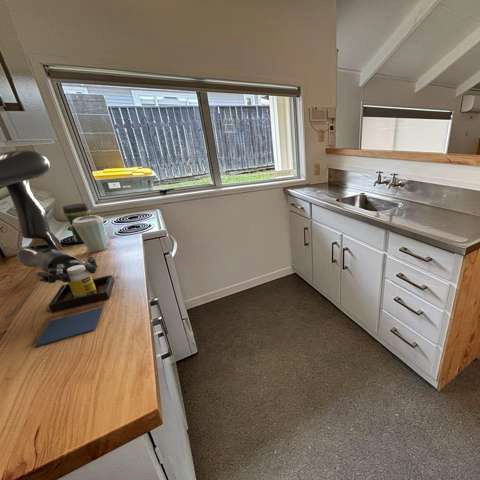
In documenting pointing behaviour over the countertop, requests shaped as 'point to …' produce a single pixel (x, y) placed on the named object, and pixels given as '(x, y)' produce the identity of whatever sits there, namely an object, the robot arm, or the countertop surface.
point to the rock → (39, 242)
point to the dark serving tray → (60, 305)
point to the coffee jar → (76, 216)
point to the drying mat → (69, 326)
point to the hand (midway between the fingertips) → (81, 274)
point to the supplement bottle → (81, 281)
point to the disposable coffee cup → (91, 232)
